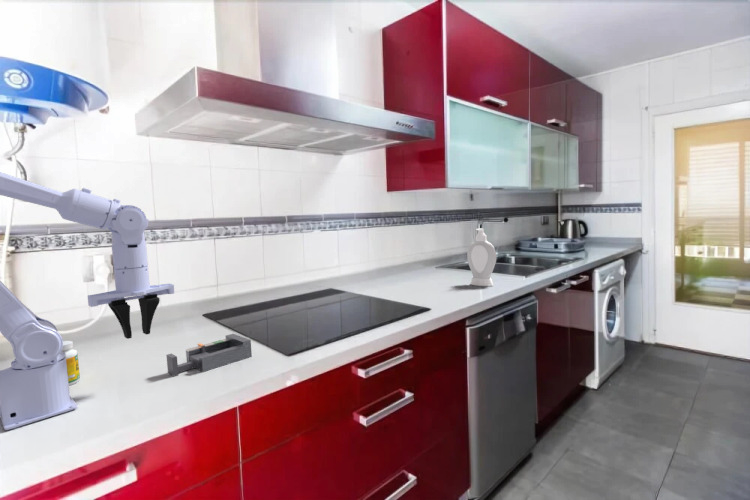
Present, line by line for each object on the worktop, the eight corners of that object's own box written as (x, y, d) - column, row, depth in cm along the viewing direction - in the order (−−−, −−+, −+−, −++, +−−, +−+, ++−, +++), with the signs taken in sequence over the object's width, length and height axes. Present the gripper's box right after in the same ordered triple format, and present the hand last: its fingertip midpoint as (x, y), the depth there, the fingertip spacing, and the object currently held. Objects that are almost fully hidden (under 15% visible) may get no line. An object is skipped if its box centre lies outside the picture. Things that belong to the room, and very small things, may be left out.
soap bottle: (462, 285, 171) (461, 228, 169) (469, 282, 177) (469, 228, 175) (492, 288, 163) (491, 228, 161) (498, 285, 169) (498, 227, 167)
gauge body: (202, 372, 85) (201, 353, 84) (186, 363, 90) (185, 346, 90) (251, 356, 93) (250, 339, 93) (234, 349, 99) (233, 333, 98)
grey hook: (174, 376, 82) (173, 358, 82) (163, 369, 87) (161, 352, 86) (214, 364, 89) (213, 347, 88) (202, 358, 93) (200, 342, 93)
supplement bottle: (49, 384, 81) (44, 344, 81) (77, 376, 85) (73, 338, 84) (53, 390, 78) (49, 348, 77) (82, 382, 82) (78, 342, 81)
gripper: (91, 273, 70) (99, 349, 71) (177, 264, 80) (183, 330, 82) (82, 271, 75) (89, 341, 76) (164, 262, 85) (169, 324, 86)
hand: (137, 335), depth 79 cm, fingers open, 3 cm apart
